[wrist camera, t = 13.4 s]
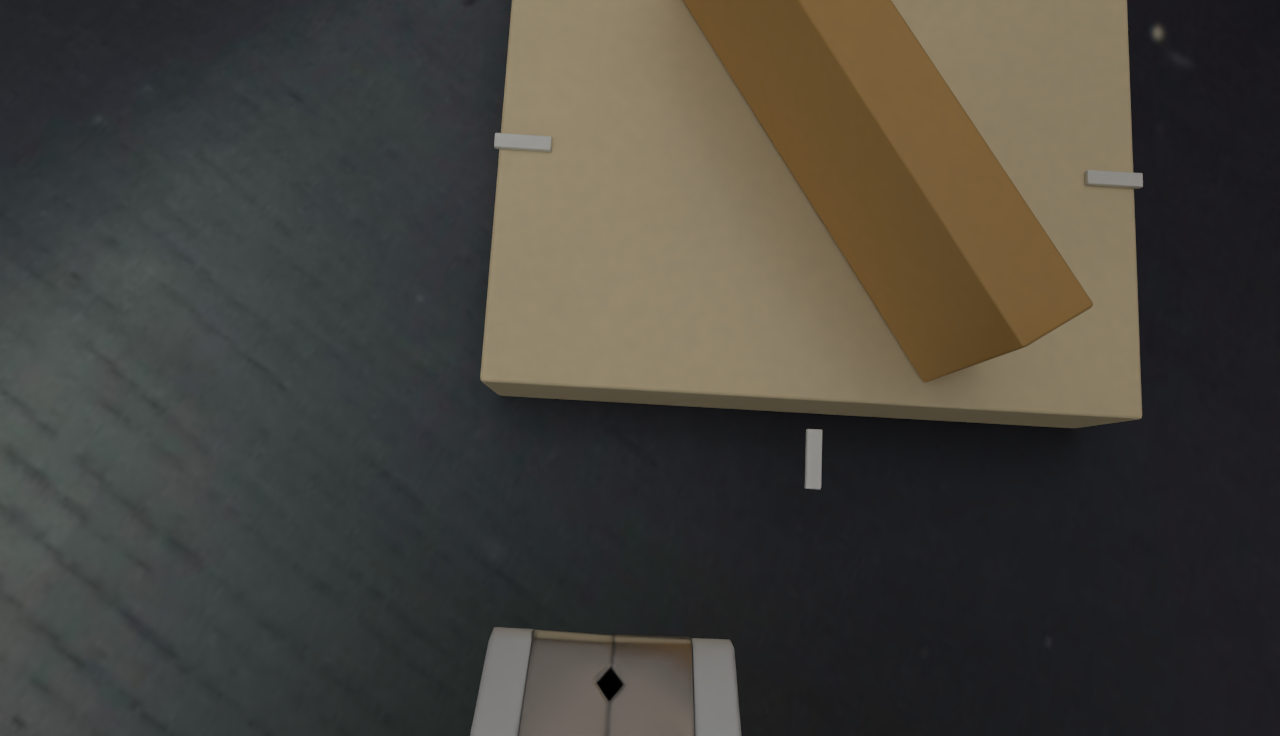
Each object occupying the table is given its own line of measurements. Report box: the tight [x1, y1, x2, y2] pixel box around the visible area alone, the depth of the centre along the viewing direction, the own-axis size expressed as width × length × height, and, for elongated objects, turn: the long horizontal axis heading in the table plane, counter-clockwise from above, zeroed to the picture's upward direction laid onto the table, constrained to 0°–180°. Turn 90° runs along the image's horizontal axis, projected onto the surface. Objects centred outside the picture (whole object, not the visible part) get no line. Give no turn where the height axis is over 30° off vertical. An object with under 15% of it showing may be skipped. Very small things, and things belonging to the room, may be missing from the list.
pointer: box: [683, 0, 1093, 382], centre depth 18 cm, size 12×2×5 cm, turn 30°
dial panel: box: [480, 0, 1143, 489], centre depth 22 cm, size 16×16×3 cm
